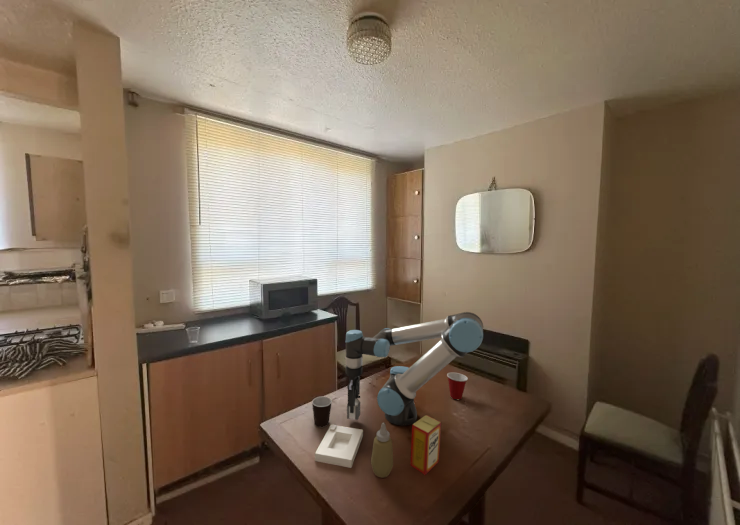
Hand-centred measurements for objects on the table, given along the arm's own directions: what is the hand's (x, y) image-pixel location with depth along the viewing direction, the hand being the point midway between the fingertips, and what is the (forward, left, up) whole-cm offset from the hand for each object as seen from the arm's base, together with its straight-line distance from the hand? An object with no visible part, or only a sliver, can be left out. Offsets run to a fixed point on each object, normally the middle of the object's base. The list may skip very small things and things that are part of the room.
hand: (353, 415), depth 137 cm
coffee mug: (+14, +3, -3) cm, 14 cm away
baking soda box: (-32, +18, -3) cm, 37 cm away
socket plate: (+1, +18, -3) cm, 18 cm away
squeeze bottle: (-17, +26, -3) cm, 31 cm away
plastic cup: (-47, -35, -3) cm, 59 cm away
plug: (0, 0, 0) cm, 1 cm away
